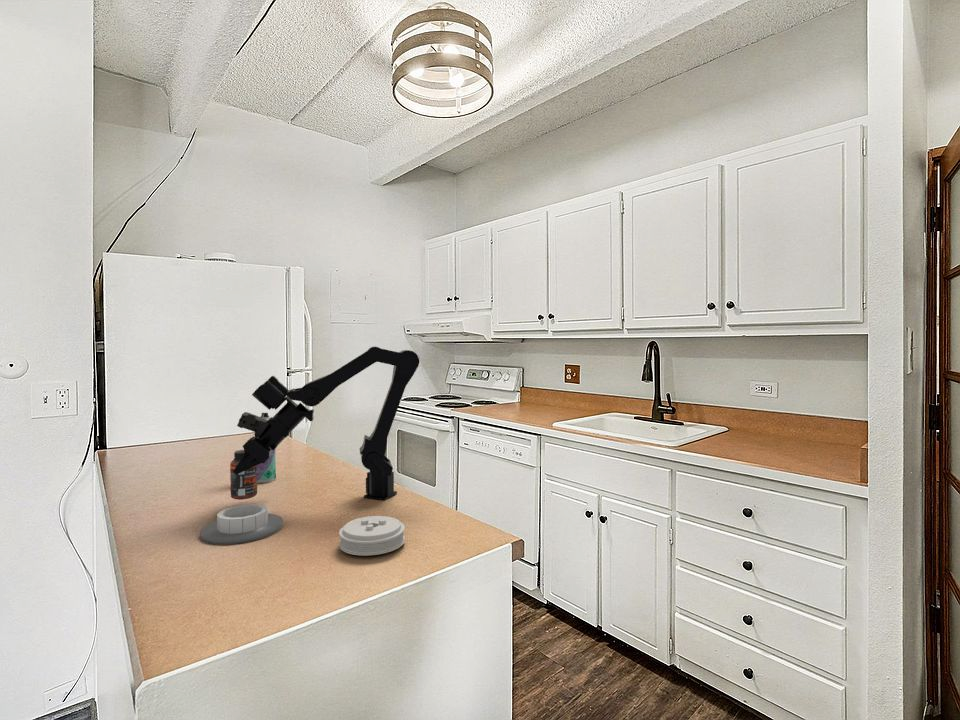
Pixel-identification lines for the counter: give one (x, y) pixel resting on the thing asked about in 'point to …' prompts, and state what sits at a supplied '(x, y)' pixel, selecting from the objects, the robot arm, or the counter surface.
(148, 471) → the counter surface
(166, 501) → the counter surface
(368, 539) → the lid
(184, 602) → the counter surface
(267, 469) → the spray can
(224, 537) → the ring mount
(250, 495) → the supplement bottle
